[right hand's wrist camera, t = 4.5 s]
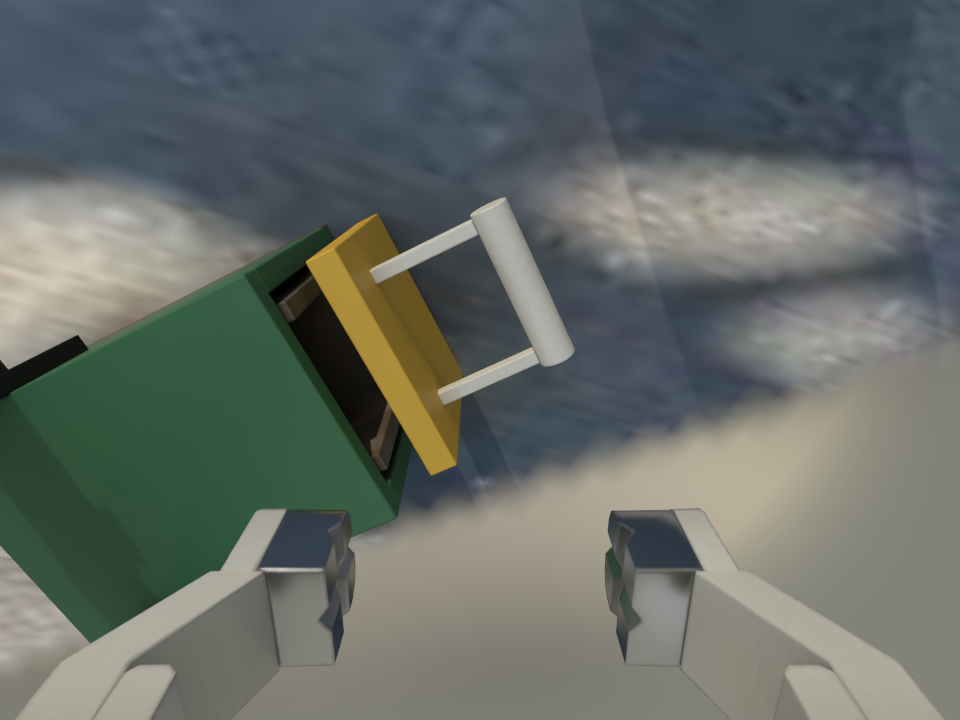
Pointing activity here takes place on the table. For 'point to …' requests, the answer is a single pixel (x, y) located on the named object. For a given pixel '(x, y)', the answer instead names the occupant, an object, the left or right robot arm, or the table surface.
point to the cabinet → (178, 448)
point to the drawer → (409, 331)
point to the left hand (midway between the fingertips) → (139, 459)
